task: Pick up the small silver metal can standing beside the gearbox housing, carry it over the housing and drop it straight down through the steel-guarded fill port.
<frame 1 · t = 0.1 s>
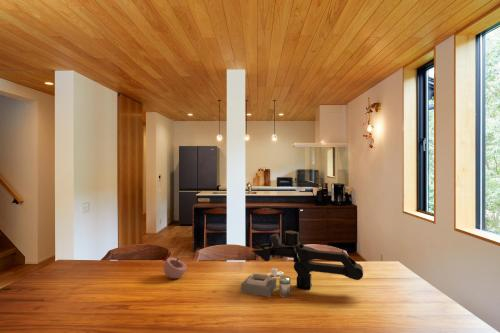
hand: (256, 248, 161), 17 cm above the table, tool horizontal, fingers open, 9 cm apart
mortar and pestle: (175, 278, 165), on the table
metal can: (284, 294, 144), on the table
teacup and saucer: (279, 278, 165), on the table
gearbox housing: (259, 289, 149), on the table
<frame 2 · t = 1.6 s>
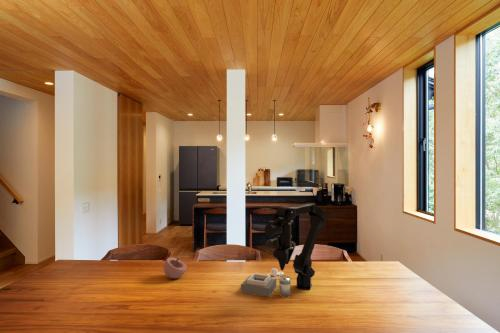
hand: (284, 267, 144), 13 cm above the table, tool pointing down, fingers open, 9 cm apart
nothing on the table moved.
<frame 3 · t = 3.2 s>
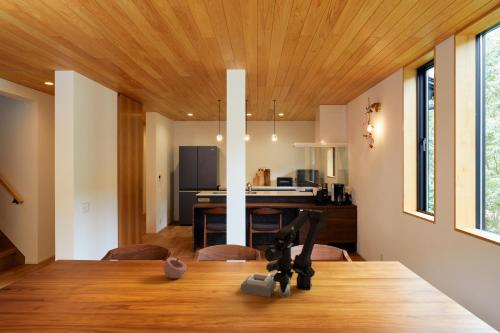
hand: (284, 290, 144), 2 cm above the table, tool pointing down, fingers closed on metal can, 5 cm apart
metal can: (284, 294, 144), on the table, touching gripper
everything else where it was.
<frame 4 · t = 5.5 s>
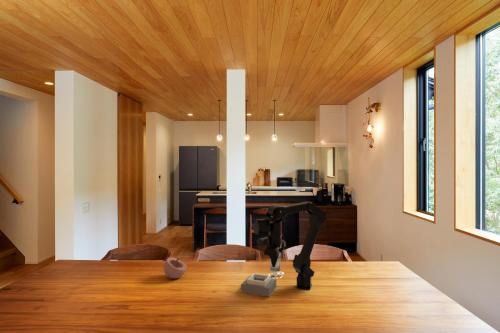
hand: (275, 265, 145), 13 cm above the table, tool pointing down, fingers closed on metal can, 5 cm apart
metal can: (275, 269, 145), point 11 cm above the table, touching gripper
everything else where it was.
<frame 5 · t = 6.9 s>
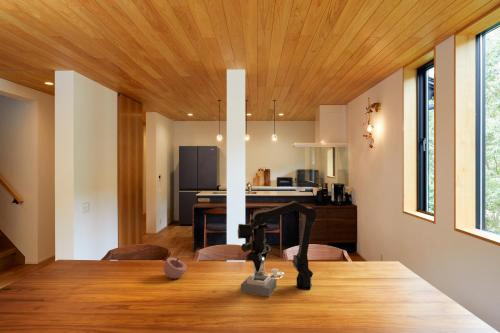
hand: (259, 269, 149), 10 cm above the table, tool pointing down, fingers closed on metal can, 5 cm apart
metal can: (259, 273, 149), point 8 cm above the table, touching gripper
everything else where it was.
when the fingers open (7 cm above the table, at t = 7.9 s): metal can drops 4 cm, resting on gearbox housing.
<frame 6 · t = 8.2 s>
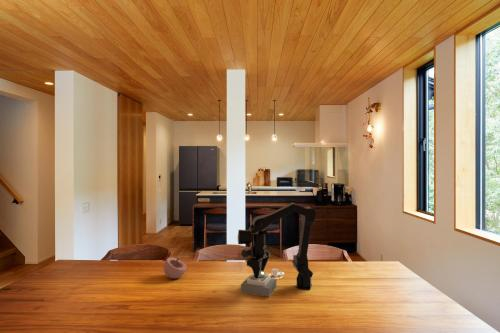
hand: (259, 275, 149), 7 cm above the table, tool pointing down, fingers open, 8 cm apart
metal can: (259, 288, 150), point 1 cm above the table, touching gearbox housing
everything else where it was.
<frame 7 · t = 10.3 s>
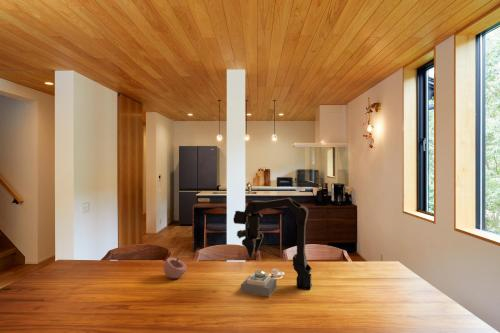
hand: (253, 254, 161), 13 cm above the table, tool pointing down, fingers open, 9 cm apart
nothing on the table moved.
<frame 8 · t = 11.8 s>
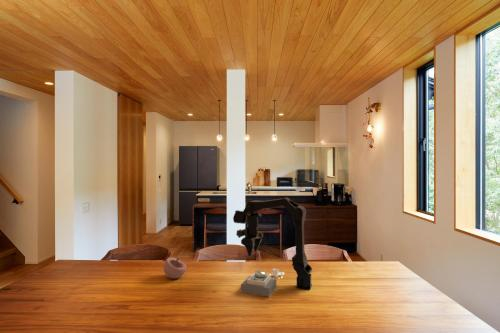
hand: (252, 253, 164), 13 cm above the table, tool pointing down, fingers open, 9 cm apart
nothing on the table moved.
at the end: metal can 0.4 cm off-centre on the gearbox housing, point 0.6 cm above the gearbox housing's base; the gripper is holding nothing; metal can tilted 2° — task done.
